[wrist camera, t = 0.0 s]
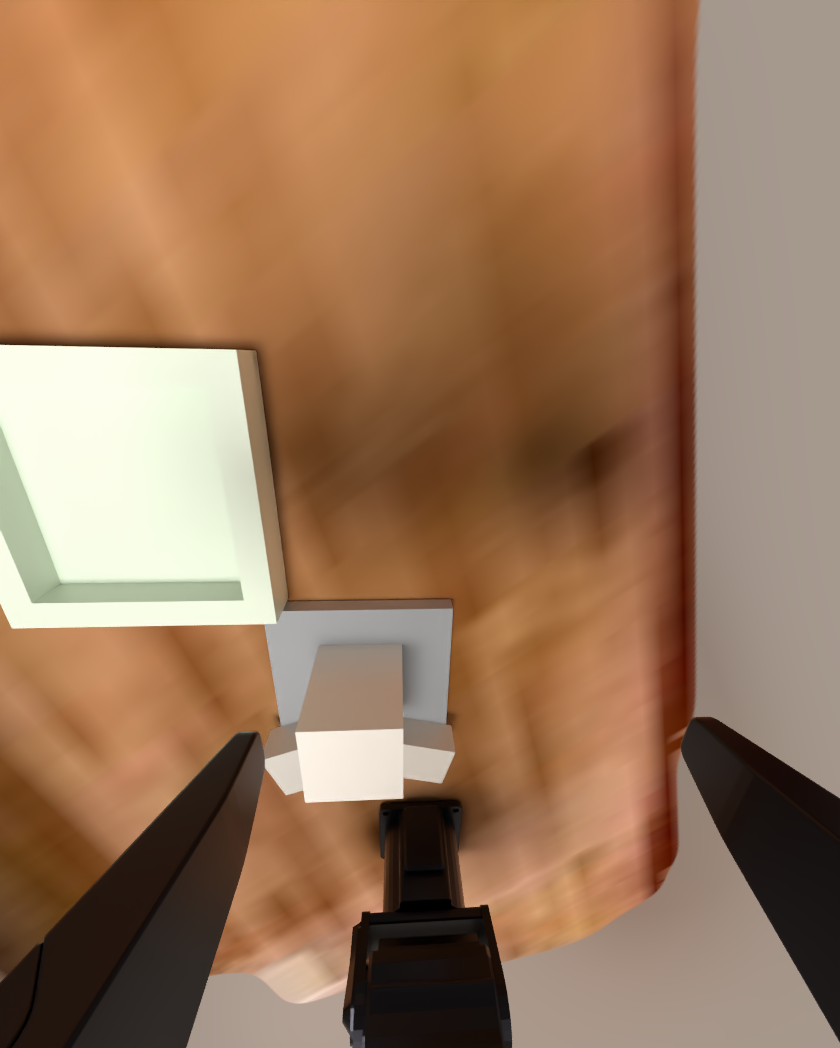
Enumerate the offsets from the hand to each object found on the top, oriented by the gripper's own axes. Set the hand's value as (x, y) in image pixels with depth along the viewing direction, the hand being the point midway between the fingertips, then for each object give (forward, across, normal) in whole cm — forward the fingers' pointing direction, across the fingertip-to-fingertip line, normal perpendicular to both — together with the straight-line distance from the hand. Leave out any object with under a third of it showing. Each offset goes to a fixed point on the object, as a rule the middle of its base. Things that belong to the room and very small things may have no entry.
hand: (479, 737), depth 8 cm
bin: (+15, +15, -1) cm, 21 cm away
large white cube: (+14, +4, +11) cm, 18 cm away
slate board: (+15, +4, +12) cm, 20 cm away
